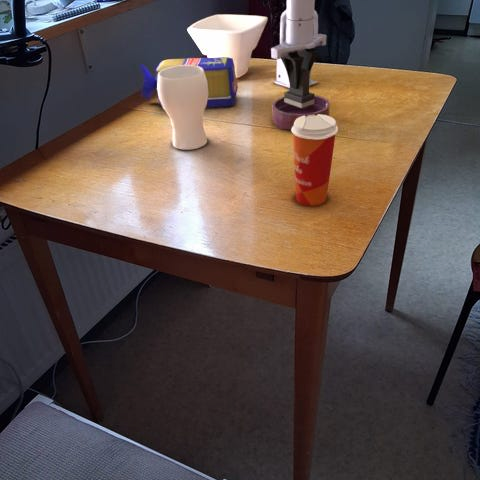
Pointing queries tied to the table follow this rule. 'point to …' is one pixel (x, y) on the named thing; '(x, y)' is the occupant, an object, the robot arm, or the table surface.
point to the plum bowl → (297, 111)
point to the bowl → (229, 37)
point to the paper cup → (313, 157)
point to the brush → (300, 92)
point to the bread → (216, 73)
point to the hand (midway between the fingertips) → (298, 86)
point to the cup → (184, 103)
